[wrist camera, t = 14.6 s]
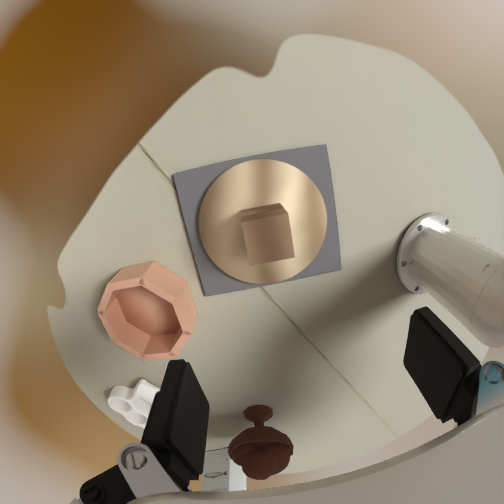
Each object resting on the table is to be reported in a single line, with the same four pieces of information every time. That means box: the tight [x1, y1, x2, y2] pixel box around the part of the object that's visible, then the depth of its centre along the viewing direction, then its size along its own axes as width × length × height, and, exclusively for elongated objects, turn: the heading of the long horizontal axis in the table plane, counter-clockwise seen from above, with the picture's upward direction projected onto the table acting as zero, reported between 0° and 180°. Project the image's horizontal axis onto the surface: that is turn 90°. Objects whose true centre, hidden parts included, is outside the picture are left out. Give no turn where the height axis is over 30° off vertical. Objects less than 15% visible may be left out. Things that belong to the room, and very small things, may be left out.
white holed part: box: [108, 378, 160, 429], centre depth 43 cm, size 3×18×15 cm
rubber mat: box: [173, 144, 341, 296], centre depth 32 cm, size 18×16×1 cm
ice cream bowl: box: [228, 405, 293, 480], centre depth 37 cm, size 11×11×15 cm
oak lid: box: [199, 159, 327, 284], centre depth 29 cm, size 15×15×7 cm
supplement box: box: [201, 448, 246, 491], centre depth 45 cm, size 7×7×13 cm
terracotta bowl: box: [97, 261, 197, 360], centre depth 33 cm, size 12×12×5 cm
